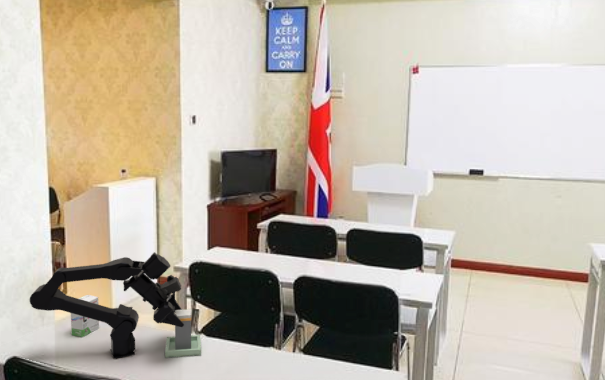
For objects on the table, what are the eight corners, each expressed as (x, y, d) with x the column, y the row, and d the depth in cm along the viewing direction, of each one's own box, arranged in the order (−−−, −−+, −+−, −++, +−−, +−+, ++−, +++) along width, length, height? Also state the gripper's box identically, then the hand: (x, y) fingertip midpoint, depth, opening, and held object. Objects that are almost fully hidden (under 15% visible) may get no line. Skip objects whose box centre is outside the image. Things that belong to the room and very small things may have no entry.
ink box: (82, 337, 173) (81, 304, 171) (70, 335, 174) (69, 302, 173) (100, 327, 181) (99, 296, 179) (88, 325, 182) (87, 294, 181)
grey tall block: (175, 351, 164) (174, 316, 162) (175, 344, 169) (175, 309, 167) (191, 350, 165) (191, 315, 163) (191, 343, 170) (191, 309, 168)
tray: (165, 358, 160) (165, 352, 160) (166, 342, 171) (166, 336, 171) (200, 355, 163) (200, 349, 163) (200, 340, 173) (200, 334, 173)
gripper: (164, 280, 153) (201, 313, 157) (167, 262, 171) (200, 292, 175) (137, 306, 152) (175, 339, 156) (142, 286, 170) (177, 315, 174)
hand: (183, 320), depth 165 cm, fingers open, 9 cm apart
